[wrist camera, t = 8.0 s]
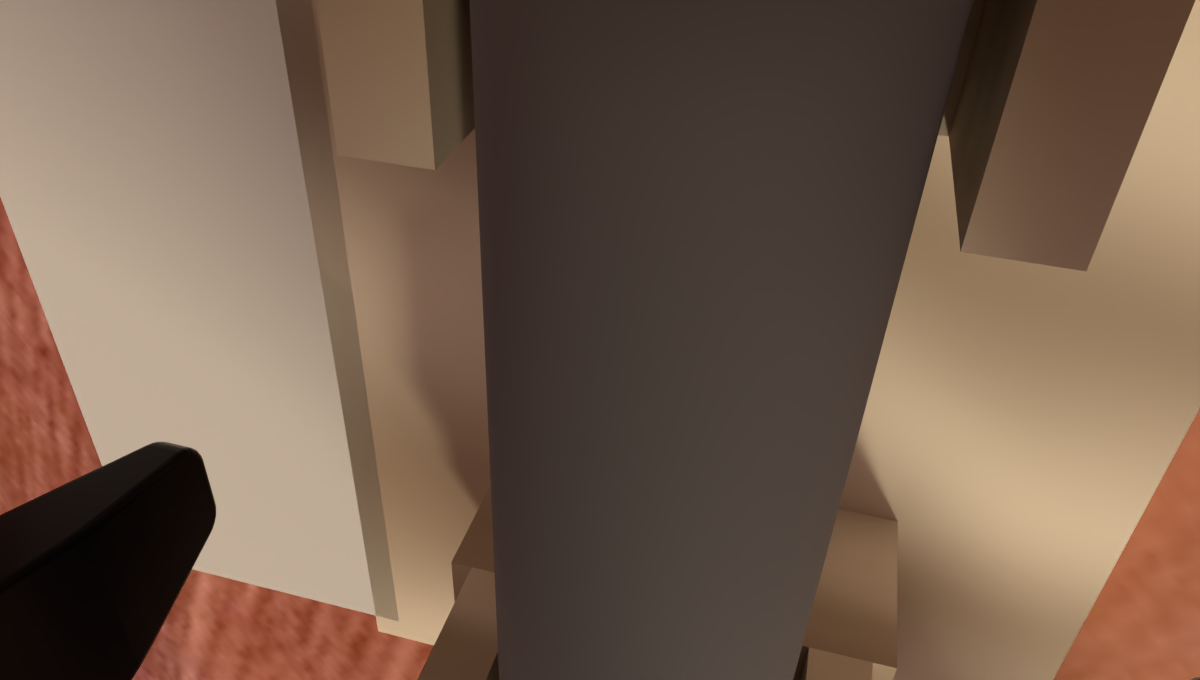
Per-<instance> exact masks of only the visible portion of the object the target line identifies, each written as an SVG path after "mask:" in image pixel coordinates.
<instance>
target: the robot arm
mask: <svg viewBox="0 0 1200 680" xmlns="http://www.w3.org/2000/svg"><path fill="white" fill-rule="evenodd" d="M215 519H216V504H215V500H214V496H213V493H212V489H211V486H210V482H209V479H208V475H207V472H206V468H205V465H204V461H203V459H202V456H201V455H200V454H199V453H198V451H197V450H195V449H193V448H190V447H186V446H182V445H177V444H173V443H168V442H154V443H151V444H149V445H146V446H144V447H142V448H140V449H138V450H136V451H133V452H131V453H129V454H127V455H125V456H123V457H121V458H119V459H117V460H115V461H113V462H110V463H108V464H106V465H104V466H102V467H100V468H98V469H96V470H94V471H92V472H90V473H87V474H85V475H83V476H81V477H79V478H77V479H75V480H73V481H71V482H69V483H67V484H64V485H62V486H60V487H58V488H56V489H54V490H52V491H50V492H48V493H46V494H44V495H41V496H39V497H37V498H35V499H33V500H31V501H29V502H27V503H25V504H23V505H20V506H18V507H16V508H14V509H12V510H10V511H8V512H6V513H4V514H2V515H0V680H132V678H133V677H134V675H135V674H136V672H137V670H138V669H139V667H140V666H141V664H142V662H143V660H144V659H145V657H146V655H147V653H148V651H149V650H150V648H151V646H152V644H153V643H154V641H155V639H156V637H157V635H158V633H159V631H160V629H161V627H162V625H163V623H164V622H165V620H166V618H167V616H168V614H169V612H170V610H171V608H172V606H173V604H174V602H175V601H176V599H177V597H178V595H179V593H180V591H181V589H182V587H183V585H184V583H185V581H186V580H187V578H188V576H189V574H190V572H191V570H192V568H193V566H194V564H195V562H196V560H197V559H198V557H199V555H200V553H201V551H202V549H203V547H204V545H205V543H206V541H207V539H208V537H209V536H210V534H211V531H212V529H213V526H214V523H215ZM1192 680H1200V677H1196V678H1194V679H1192Z"/></svg>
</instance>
